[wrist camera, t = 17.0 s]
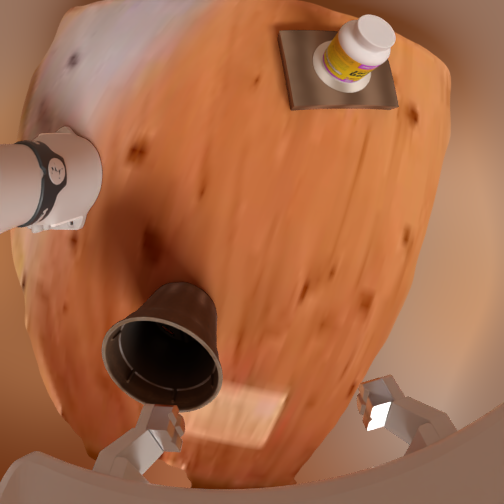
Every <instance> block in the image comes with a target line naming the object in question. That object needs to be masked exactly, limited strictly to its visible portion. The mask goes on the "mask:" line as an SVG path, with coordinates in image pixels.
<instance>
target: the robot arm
mask: <svg viewBox="0 0 504 504" xmlns="http://www.w3.org/2000/svg"><path fill="white" fill-rule="evenodd" d="M101 183H102V165H101V160H100V157H99V154H98V152H97V150H96V149H95V147H94V146H93V145H92V144H91V143H90V142H89V141H88V140H86V139H85V138H82V137H80V136H77V135H76V134H75V133H74V132H73V130H72V129H71V128H70V127H68V126H64V127H61V128H60V129H59V130H57V131H56V132H55V133H42V134H39V135H38V137H37V138H35V139H34V140H25V141H20V142H17V143H15V144H0V234H1V233H3V232H5V231H7V230H10V229H12V228H14V227H28V228H29V229H31V230H32V233H37V232H41V231H43V230H49V229H63V230H78V229H81V228H82V227H83V226H84V223H85V219H86V215H87V213H88V211H89V209H90V208H91V207H92V205H93V204H94V203H95V201H96V199H97V197H98V194H99V191H100V188H101ZM72 221H73V224H72ZM358 389H359V391H360V393H359V394H358V395H357V406H358V410H359V413H360V414H362V415H363V416H364V417H363V423H364V425H365V428H366V430H367V431H369V430H372V429H376V428H379V427H383V426H384V427H385V428H386V429H387V430H389V431H390V432H392V433H393V434H395V435H396V436H398V437H399V438H401V439H402V440H403V441H405V442H406V443H408V444H409V445H410V446H409V448H408V449H407V451H406V453H405V455H404V456H403V457H400V458H398V459H395V460H392V461H389V462H386V463H384V464H381V465H378V466H374V467H371V468H368V469H365V470H361V471H358V472H354V473H351V474H346V475H343V476H338V477H334V478H330V479H324V480H319V481H314V482H308V483H303V484H295V485H288V486H280V487H270V488H257V489H194V488H182V487H171V486H163V485H156V484H150V483H149V482H148V481H147V480H146V479H145V478H144V477H143V476H142V474H143V473H144V472H145V471H146V470H147V469H148V468H149V467H150V466H151V465H152V464H153V463H154V462H155V461H156V460H157V459H158V458H159V457H160V455H161V454H162V453H163V451H168V452H181V447H182V442H183V441H182V439H181V438H180V437H181V436H182V435H183V434H184V432H185V422H184V419H183V417H182V416H181V415H180V414H178V413H179V409H178V407H177V405H161V404H145V405H144V406H143V409H142V411H141V414H140V417H139V419H138V422H137V425H136V427H135V428H132V429H131V430H129V431H128V432H127V433H125V434H124V435H123V436H121V437H120V438H119V439H117V440H116V441H114V442H113V443H112V444H110V445H109V446H108V447H106V448H105V449H103V450H102V451H101V452H100V453H99V455H98V458H97V460H96V463H95V465H94V467H93V470H89V469H85V468H82V467H79V466H76V465H73V464H70V463H67V462H65V461H62V460H59V459H57V458H54V457H52V456H49V455H47V454H44V453H42V452H39V451H35V452H32V453H30V454H28V455H26V456H24V457H22V458H20V459H18V460H16V461H15V462H14V463H13V464H12V465H11V466H10V468H9V469H8V470H7V472H6V474H5V475H4V477H3V479H2V480H1V482H0V504H504V402H503V403H501V404H500V405H498V406H497V407H496V408H494V409H493V410H491V411H490V412H488V413H487V414H485V415H483V416H482V417H480V418H479V419H477V420H476V421H474V422H472V423H471V424H469V425H467V426H466V427H464V428H462V429H460V430H458V431H457V430H456V428H455V426H454V425H453V423H452V422H451V420H450V418H449V417H448V415H447V414H446V413H444V412H442V411H439V410H437V409H435V408H433V407H430V406H428V405H426V404H424V403H421V402H419V401H417V400H415V399H412V398H411V397H405V396H404V394H403V393H402V391H401V389H400V388H399V386H398V384H397V383H396V381H395V379H394V378H393V376H392V375H387V376H384V377H381V378H376V379H373V380H370V381H366V382H362V383H360V384H359V388H358Z"/></svg>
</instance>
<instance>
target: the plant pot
mask: <svg viewBox="0 0 504 504" xmlns="http://www.w3.org/2000/svg"><path fill="white" fill-rule="evenodd" d="M162 326H164V327H166V328H167V329H168V330H170V331H171V332H173V333H174V335H172V334H170V333H169V332H167V331H166V330H165V329H164V328H163V327H162ZM216 331H217V313H216V308H215V305H214V303H213V301H212V300H211V298H210V297H209V296H208V295H207V294H206V293H205V292H204V291H203V290H201V289H200V288H198V287H196V286H194V285H192V284H190V283H186V282H180V283H168V284H165V285H163V286H161V287H160V288H159V289H158V290H157V291H156V292H155V293H154V294H153V295H152V296H151V297H150V298H149V299H148V300H147V301H146V302H145V303H144V304H143V305H142V306H141V307H140V308H139V309H138V310H137V311H135V312H133V313H132V314H130V315H129V316H127V317H126V318H125V319H123V320H121V321H119V322H117V323H116V324H115V325H113V326H112V327H111V328H110V329H109V331H108V332H107V333H106V335H105V337H104V340H103V343H102V357H103V361H104V364H105V367H106V369H107V371H108V373H109V375H110V376H111V378H112V379H113V381H114V382H115V383H116V384H117V386H118V387H119V388H120V389H121V390H122V391H124V392H125V393H126V394H127V395H129V396H130V397H131V398H133V399H135V400H136V401H138V402H140V403H142V404H144V405H145V404H161V405H177V407H178V409H179V412H190V411H194V410H197V409H200V408H202V407H204V406H206V405H207V404H209V403H210V402H211V401H212V400H213V399H214V398H215V397H216V396H217V395H218V393H219V391H220V389H221V386H222V378H223V376H222V368H221V364H220V362H219V357H218V351H217V348H216V340H217V339H216Z"/></svg>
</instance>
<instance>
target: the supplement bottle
mask: <svg viewBox="0 0 504 504" xmlns="http://www.w3.org/2000/svg"><path fill="white" fill-rule="evenodd" d="M395 39H396V38H395V33H394V31H393V29H392V28H391V26H390V25H389V24H388V23H387V22H386V21H384V20H383V19H381V18H380V17H377V16H374V15H364V16H361V17H360V18H359V19H358V20H352V21H349V22H347V23H345V24H344V25H343V26H342V27H341V28H340V30H339V31H338V33H337V34H336V36H335V37H334V39H333V40H332V41H331V43H330V44H329V46H328V47H327V49H326V50H325V52H324V54H323V56H322V63H323V67H324V69H325V71H326V72H327V73H328V74H329V75H330V76H331V77H332V78H333V79H335V80H337V81H339V82H342V83H348V84H349V83H355V82H357V81H359V80H360V79H362V78H363V77H364V76H366V75H367V74H369V73H370V72H371V71H373V70H374V69H375V68H377V67H378V66H380V65H381V64H382V63H384V62H385V61H386V60H387V59H388V57H389V55H390V47H391V46H393V45H394V43H395Z"/></svg>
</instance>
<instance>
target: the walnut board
mask: <svg viewBox="0 0 504 504" xmlns="http://www.w3.org/2000/svg"><path fill="white" fill-rule="evenodd" d="M337 33H338V32H337V31H318V30H285V31H279V35H278V43H279V48H280V53H281V58H282V63H283V68H284V74H285V79H286V85H287V90H288V96H289V102H290V108H291V110H306V109H336V108H356V109H385V110H391V109H394V108H397V107H399V106H398V100H397V95H396V90H395V86H394V81H393V77H392V73H391V69H390V65H389V61H388V59H387V60H386V61H385V62H384V63H382V64H381V65H380V66H378V67H377V68H375V69H374V70H373V71H371V72H370V73H369V74H367V75H366V76H364V77H363V78H362V79H360V80H359V81H357V82H355V83H349V84H348V83H342V82H339V81H337V80H335V79H333V78H332V77H331V76H330V75H329V74H328V73H327V72H326V71H325V69H324V67H323V63H322V56H323V54H324V52H325V50H326V49H327V47H328V46H329V44H330V43H331V41H332V40H333V39H334V37H335V36H336V34H337Z"/></svg>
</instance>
